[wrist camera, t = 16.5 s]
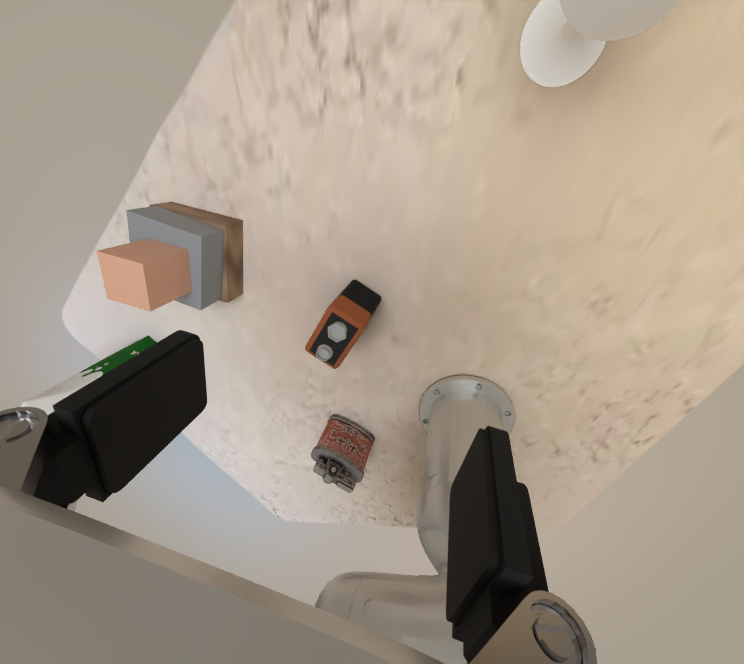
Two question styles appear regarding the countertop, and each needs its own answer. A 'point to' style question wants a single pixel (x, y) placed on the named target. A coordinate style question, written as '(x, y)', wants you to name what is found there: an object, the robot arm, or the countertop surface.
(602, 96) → the countertop surface
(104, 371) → the milk carton
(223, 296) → the tower base
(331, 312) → the battery
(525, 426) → the countertop surface
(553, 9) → the champagne flute
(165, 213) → the tower top
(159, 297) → the pillar block
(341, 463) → the lighter
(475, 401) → the robot arm
